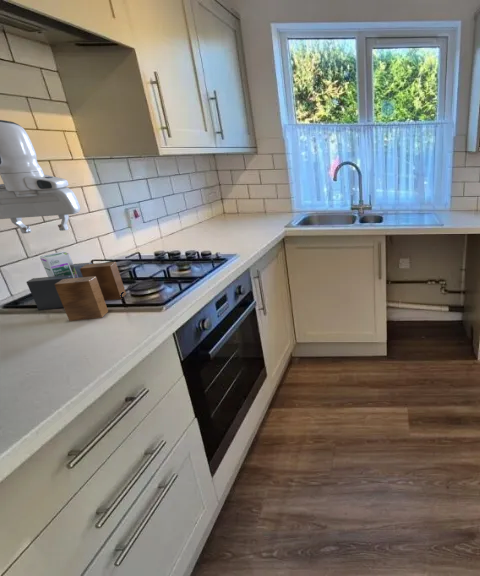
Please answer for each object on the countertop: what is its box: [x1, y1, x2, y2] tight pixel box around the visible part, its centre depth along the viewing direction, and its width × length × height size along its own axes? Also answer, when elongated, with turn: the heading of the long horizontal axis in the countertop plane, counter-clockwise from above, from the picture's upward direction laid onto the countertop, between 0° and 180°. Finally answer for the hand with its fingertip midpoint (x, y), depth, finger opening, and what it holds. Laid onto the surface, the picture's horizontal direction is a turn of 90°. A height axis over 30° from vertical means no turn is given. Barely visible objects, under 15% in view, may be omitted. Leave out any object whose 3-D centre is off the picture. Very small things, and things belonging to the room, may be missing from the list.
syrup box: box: [39, 250, 78, 278], centre depth 111 cm, size 6×6×14 cm
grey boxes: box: [25, 262, 93, 311], centre depth 113 cm, size 10×15×9 cm, turn 14°
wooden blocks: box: [54, 261, 127, 322], centre depth 106 cm, size 8×17×11 cm, turn 14°
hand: (45, 231), depth 106 cm, fingers open, 8 cm apart
